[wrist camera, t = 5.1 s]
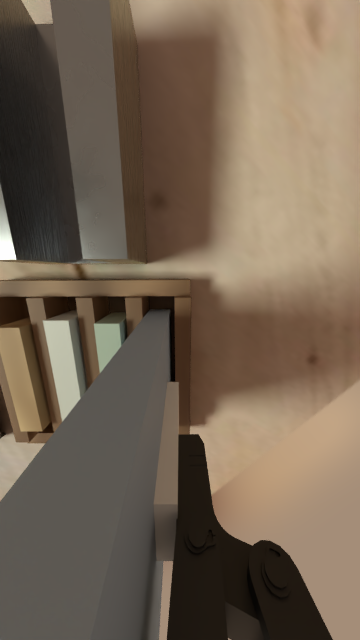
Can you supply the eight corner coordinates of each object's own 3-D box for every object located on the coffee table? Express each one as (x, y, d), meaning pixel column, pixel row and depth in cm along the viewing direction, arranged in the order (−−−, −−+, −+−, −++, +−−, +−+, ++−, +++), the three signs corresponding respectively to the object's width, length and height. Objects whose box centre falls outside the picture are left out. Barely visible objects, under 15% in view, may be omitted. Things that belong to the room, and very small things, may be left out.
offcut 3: (120, 388, 19) (105, 418, 15) (113, 311, 17) (93, 323, 13) (138, 388, 19) (127, 418, 15) (133, 311, 17) (119, 323, 13)
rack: (42, 426, 20) (19, 452, 17) (9, 279, 16) (-28, 281, 13) (188, 426, 20) (189, 452, 17) (189, 279, 16) (191, 280, 13)
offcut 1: (52, 399, 19) (20, 431, 16) (35, 315, 17) (-7, 327, 13) (69, 399, 19) (42, 431, 16) (55, 315, 17) (19, 327, 13)
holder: (48, 264, 16) (-29, 259, 10) (10, 43, 12) (-140, -157, 7) (146, 263, 16) (127, 258, 10) (137, 42, 12) (98, -160, 7)
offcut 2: (89, 411, 20) (66, 445, 16) (73, 309, 17) (42, 320, 13) (105, 411, 20) (87, 445, 16) (93, 309, 17) (68, 320, 13)
